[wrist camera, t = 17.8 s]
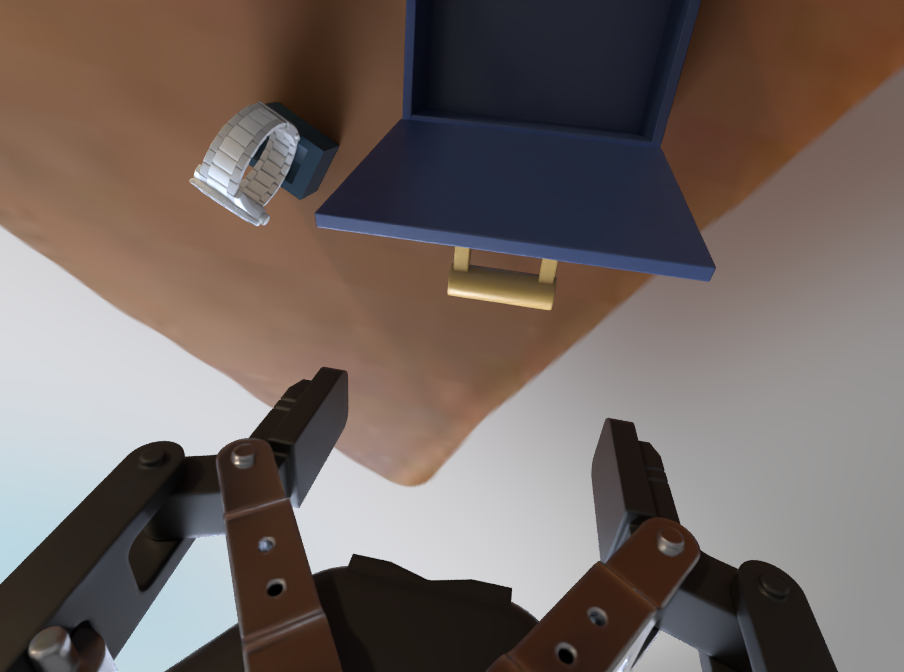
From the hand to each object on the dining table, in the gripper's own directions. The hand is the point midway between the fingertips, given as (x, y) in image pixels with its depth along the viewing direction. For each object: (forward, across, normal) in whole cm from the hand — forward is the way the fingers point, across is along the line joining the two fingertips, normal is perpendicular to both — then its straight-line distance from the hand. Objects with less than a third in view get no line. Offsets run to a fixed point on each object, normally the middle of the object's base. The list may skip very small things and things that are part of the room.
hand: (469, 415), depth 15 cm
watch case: (+27, 0, -12) cm, 30 cm away
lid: (+14, 0, -5) cm, 15 cm away
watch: (+27, +18, -2) cm, 33 cm away
